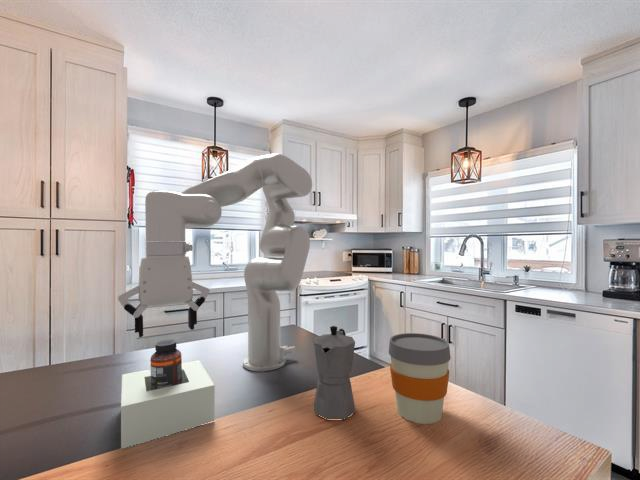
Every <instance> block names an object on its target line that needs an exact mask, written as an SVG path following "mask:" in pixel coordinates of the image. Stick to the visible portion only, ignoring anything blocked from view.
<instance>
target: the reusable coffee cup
mask: <svg viewBox="0 0 640 480" xmlns="http://www.w3.org/2000/svg"><path fill="white" fill-rule="evenodd" d="M388 355H389V356H390V361H391V363H390V364H389V370H390V377H391V385H392V389H393V390H394V392H395V400H396V408H397V413H398V414H399V416H401V417H402V416H403V417H404V419H405V420H406V421H410V422H412V423H416V424H421V425H428V424H429V425H430V424H435V423H437V422H439V421H441V419H442V416H443V410H444V400H445V398H446V396H447V393H448V385H449V377H450V369H448V367H449V361H451V350H450V343H449V342H448V340H446V339H444V338H442V337H439V336H436V335H432V334H427V333H418V332H413V333H412V332H407V333H406V332H405V333H398V334H394V335H393V336H390V338H389V345H388ZM403 417H402V418H403Z"/></svg>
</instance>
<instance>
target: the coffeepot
mask: <svg viewBox="0 0 640 480" xmlns="http://www.w3.org/2000/svg"><path fill="white" fill-rule="evenodd" d="M329 329H330V333H329V334H327V333H326V334H322V335H319V336H316V337H313V338H312V342H313V347H314V354H315V361H316V368H317V373H318V378H317V381H316V382H317V383H316V389H315V394H314V395H315V397H314V402H313V410H314V409H315V411H314V414H315V415H316V414H317V415H320V416H322V417H324V418H326V419H344V418H347V417H348V416H350V415H351V414H352V413H353V414H354V413H356V412H355V411H356V405H355V399H354V396H353V395H354V394H353V388H352V382H351V378H350V374H351V373H352V369H353V361H354V354H355V347H356V341H355V339H354V337H353V336H349V335H347V334H346V332H345V330H344V329H343V328H339V329H338V326H335V325H331V326H330V327H329ZM317 415H316V416H317ZM347 419H348V418H347Z"/></svg>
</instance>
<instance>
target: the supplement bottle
mask: <svg viewBox="0 0 640 480" xmlns="http://www.w3.org/2000/svg"><path fill="white" fill-rule="evenodd" d="M149 361H150V369H151V390H156V389H160V388H165V387H169V386H174V385H179V384H182V363H183V362H182V352H181V350H180V349H178V348H177V340H174V339H164V340H160V341H158V342H156V343H155V352H154V353H152V355H151V357H150V360H149Z"/></svg>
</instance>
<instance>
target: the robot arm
mask: <svg viewBox="0 0 640 480" xmlns="http://www.w3.org/2000/svg"><path fill="white" fill-rule="evenodd" d="M260 189H262V191H263V194H264V197H265V199H266V202H267V205H268V216H267V219H266V221H265V225H264V228H263V230H262V233H261V237H260V240H259V249H260V252H261V253H263V254H264V255H265V256H266V257H255V258H253V259H251V260H250V261H248V262H247V264H246V265H245V267H244V271H243V279H244V282H245V288H246V294H247V327H248V328H247V355H248V356H246V357H245V358H243V360H242V367H243V368H245V369H246V370H249V371H253V372H267V371H268V372H269V371H274V370H277V369H280V368H281V367H283V366H284V365H285V364H286V363H287V362H286V361H287V360H286V357H285V356H286V355H289V354H294V353H296V347H295V346H294V345H293V346H289V347H288V345H283V346H282V345H281V302H280V299H279V296H278V293H277V292H276V291H279V292H292V291H295V290H296V289H297V288H298V287H299V285H300V283H301V281H302V277H303V274H304V271H305V266H306V264H307V260H308V259H307V258H308V256H309V252H310V246H311V241H310V234H309V232H308V230H307V229H306V228H305V227H304V226H301V225H294V223H295V219H296V218H295V217H296V216H295V215H296V214H295V211H294V209H293V207H291V205H290V203H289V201H288V199H292V198H293V199H294V198H303V197H306V196H308V195H309V194H310V193H311V191H312V189H313V180H312V177H311V175H310V173H309V172H308V170H306V169H305V168H304V167H302V166H301V165H299V164H298V163H297V162H296V161H294V160H292V159H291V157H290V158H289V157H287V156H286V155H284V154H281V153H269V154H264V155H260V156H255V157H251V158H249V159H247V160H246V161H243V162H242V163H240V164H238V165H237V166H235V167H233V168H231V169H229V170H228V171H226V172H223V173H221V174H219V175H216V176H213V177H212V178H209V179H207V180H204V181H202V182H200V183H197V184H195V185H193V186H191V187H187V188H186V189H184V190H182V191H180V192H178V191H170V190H154V191H150V192H148V193H147V194H146V196H145V199H144V200H145V204H144V205H145V209H144V210H145V257H141V260H140V266H139V273H138V285H136V286H135V287H133V288H131V289H129V290H127V291H125V292H123V293H121V294H119V295H118V297H117V300H118V301H119V303H120V305H121V306H122V308H123V309H124V310H125V311H126V312H127V313H128V314H130V315H131V316H132V317H133V318H134V333H136V334H137V333H138V338H142V337H144V316H143V312H144V311H145V310H147V308H151V307H162V306H170V305H171V306H172V305H173V306H174V305H180V304H187V305H188V307H189V308H188V311H187V313H188V315H187V316H188V317H187V319H188V320H187V322H188V323H187V324H188V328H189V330H192V331H193V330H195V325H197V324H198V310H199V308H200V307H201V306H202V305H203V304H205V302H206V299H207V297H208V295H209V293H210V288H208V287H206V286H203V285H201V284H198V283H197V282H194V281H193V275H192V266H191V262H190V261H191V260H190V257H189V256H188V255H187V256H186V254H187V253H188V252H192V251H193V250H194V249H193V247H194V246H193V244H188V243H187V241H186V229H191V228H193V229H194V228H195V229H198V228H208V227H211V226H214V225H216V224H217V223H218V222H219V220H221V217H222V211H223V210H222V207H223V208H224V207H228V206H231V205H235V204H238V203H241V202H243V201H245V200H247V198H249V197H250V196H251V195H253V194H254V193H256V192H257V191H259V190H260ZM267 256H268V257H267ZM194 290H196V291H198V292H200V294H199V296H198V297H197V298H196V299H195V300H193V298H194ZM137 294H138V301H139V304H138V305H137V306H136V307H135V306H134V305H132V304H131V303H130V301H129V299H130V298H132V297H134V296H135V295H137Z"/></svg>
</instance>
